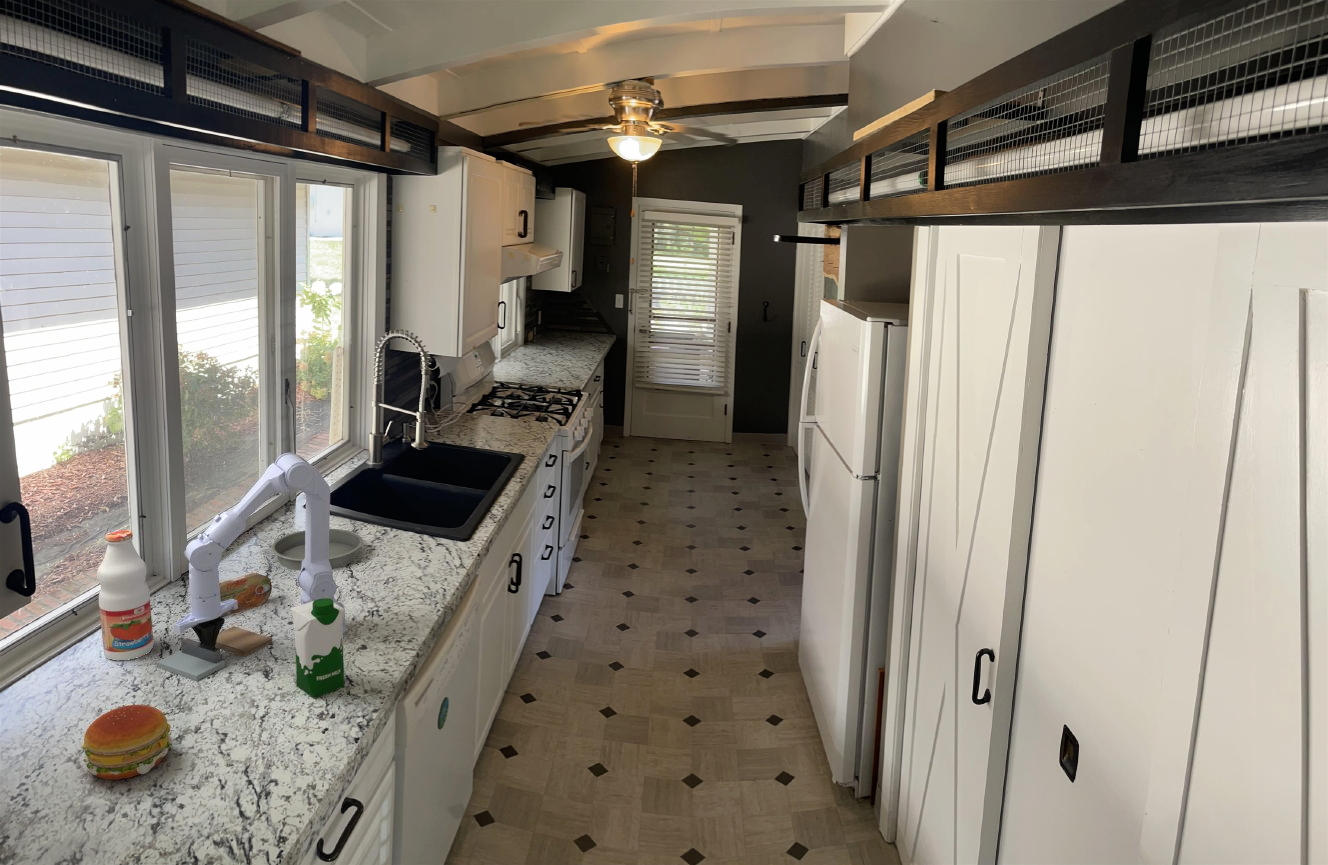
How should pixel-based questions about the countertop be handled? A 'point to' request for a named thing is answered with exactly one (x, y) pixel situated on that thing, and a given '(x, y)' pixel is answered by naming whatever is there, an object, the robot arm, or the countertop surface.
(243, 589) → the tin
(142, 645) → the fruit juice
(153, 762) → the burger
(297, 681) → the milk carton
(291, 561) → the cake pan
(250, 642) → the board
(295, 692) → the countertop surface
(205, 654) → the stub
